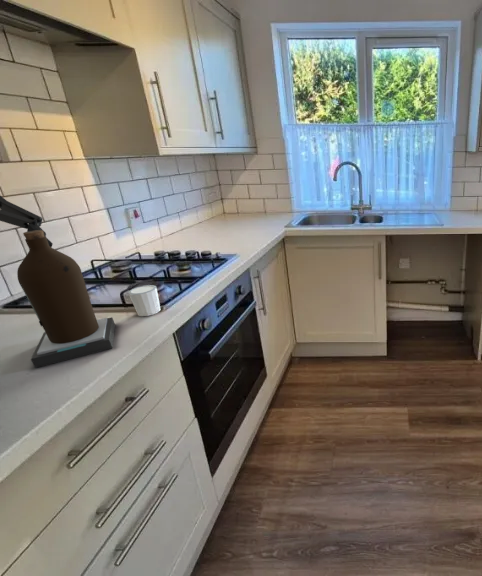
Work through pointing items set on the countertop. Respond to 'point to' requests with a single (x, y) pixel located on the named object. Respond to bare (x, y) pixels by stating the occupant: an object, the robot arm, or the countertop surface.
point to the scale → (75, 345)
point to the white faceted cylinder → (145, 300)
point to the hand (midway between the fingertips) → (16, 256)
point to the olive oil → (56, 291)
